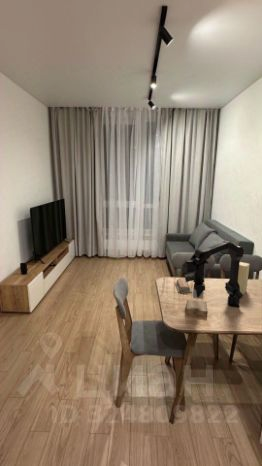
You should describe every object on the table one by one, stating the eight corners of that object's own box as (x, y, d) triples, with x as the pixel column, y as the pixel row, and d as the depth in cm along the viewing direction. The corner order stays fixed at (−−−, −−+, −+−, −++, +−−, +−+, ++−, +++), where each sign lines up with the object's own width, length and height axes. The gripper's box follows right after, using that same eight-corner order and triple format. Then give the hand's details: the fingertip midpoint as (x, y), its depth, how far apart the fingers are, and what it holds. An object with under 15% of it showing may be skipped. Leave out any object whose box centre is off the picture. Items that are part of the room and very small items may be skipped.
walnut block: (205, 307, 159) (206, 301, 159) (207, 317, 148) (207, 311, 147) (186, 305, 162) (186, 299, 161) (186, 315, 150) (186, 308, 150)
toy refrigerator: (236, 288, 188) (239, 261, 184) (246, 291, 184) (250, 263, 179) (232, 291, 182) (235, 264, 178) (243, 294, 177) (246, 266, 173)
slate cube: (202, 294, 155) (202, 286, 154) (202, 298, 150) (203, 290, 148) (192, 293, 156) (193, 285, 155) (193, 297, 151) (193, 289, 150)
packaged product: (192, 287, 178) (178, 286, 178) (192, 293, 179) (178, 293, 179) (187, 277, 196) (174, 277, 196) (187, 283, 197) (174, 282, 197)
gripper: (185, 264, 160) (184, 287, 163) (185, 275, 142) (184, 300, 145) (204, 265, 157) (202, 288, 161) (206, 276, 140) (204, 302, 143)
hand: (197, 294), depth 153 cm, fingers closed on slate cube, 5 cm apart
